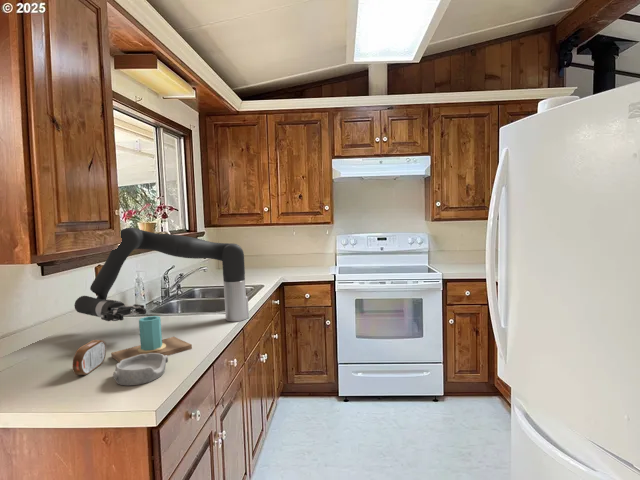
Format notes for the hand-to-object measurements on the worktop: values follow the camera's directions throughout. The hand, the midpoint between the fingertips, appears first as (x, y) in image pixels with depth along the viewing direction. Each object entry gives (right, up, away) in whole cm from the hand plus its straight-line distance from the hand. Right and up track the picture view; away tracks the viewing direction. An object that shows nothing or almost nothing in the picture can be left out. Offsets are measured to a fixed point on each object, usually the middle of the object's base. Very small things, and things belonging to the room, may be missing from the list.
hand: (133, 314), depth 148 cm
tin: (-4, -14, -20) cm, 25 cm away
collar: (+9, -10, -7) cm, 15 cm away
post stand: (+10, -12, -7) cm, 17 cm away
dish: (+14, -14, -28) cm, 34 cm away
